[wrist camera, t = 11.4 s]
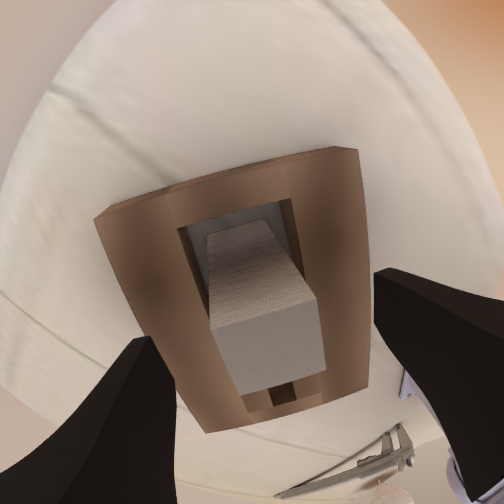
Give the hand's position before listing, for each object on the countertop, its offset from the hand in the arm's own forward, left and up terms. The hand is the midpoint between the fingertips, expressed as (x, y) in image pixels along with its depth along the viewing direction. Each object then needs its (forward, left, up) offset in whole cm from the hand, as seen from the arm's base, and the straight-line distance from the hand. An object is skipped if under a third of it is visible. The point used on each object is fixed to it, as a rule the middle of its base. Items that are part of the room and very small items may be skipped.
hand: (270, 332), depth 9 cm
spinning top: (-12, +48, -8) cm, 50 cm away
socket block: (0, +4, -7) cm, 8 cm away
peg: (0, 0, -8) cm, 8 cm away
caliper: (-4, +32, -8) cm, 33 cm away
